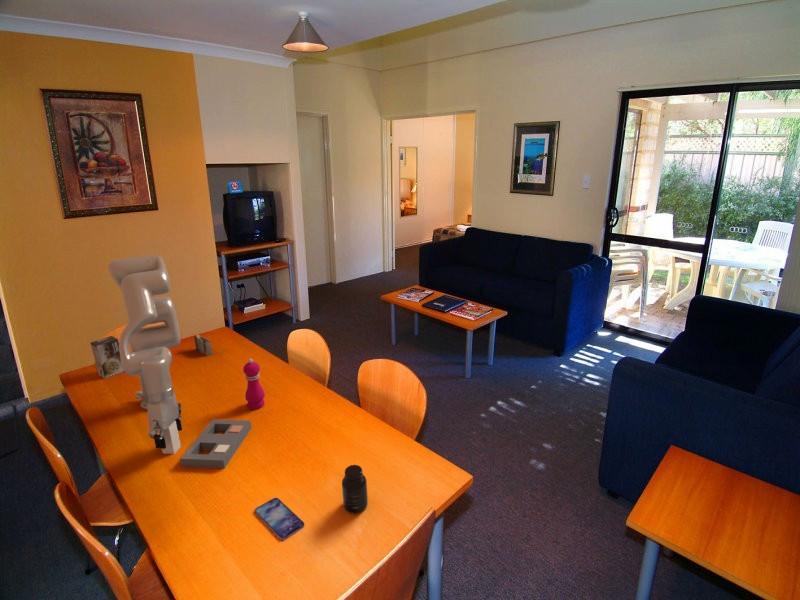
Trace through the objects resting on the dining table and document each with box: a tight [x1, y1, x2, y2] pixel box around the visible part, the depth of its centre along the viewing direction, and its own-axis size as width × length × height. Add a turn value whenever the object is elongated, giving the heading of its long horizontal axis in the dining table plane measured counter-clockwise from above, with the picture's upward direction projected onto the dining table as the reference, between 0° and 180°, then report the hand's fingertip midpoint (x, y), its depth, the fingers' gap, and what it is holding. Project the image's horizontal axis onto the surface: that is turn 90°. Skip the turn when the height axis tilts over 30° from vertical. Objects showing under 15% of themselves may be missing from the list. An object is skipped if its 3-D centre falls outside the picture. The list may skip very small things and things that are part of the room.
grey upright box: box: [192, 332, 213, 357], centre depth 227 cm, size 11×3×10 cm, turn 49°
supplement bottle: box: [341, 464, 369, 514], centre depth 128 cm, size 7×7×12 cm
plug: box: [157, 421, 181, 455], centre depth 153 cm, size 4×4×12 cm
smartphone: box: [254, 497, 306, 541], centre depth 125 cm, size 7×1×15 cm
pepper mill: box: [242, 358, 266, 410], centre depth 177 cm, size 7×7×20 cm
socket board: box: [180, 418, 252, 469], centre depth 156 cm, size 14×22×3 cm, turn 175°
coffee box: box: [90, 335, 124, 379], centre depth 206 cm, size 9×6×16 cm
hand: (169, 438), depth 153 cm, fingers open, 9 cm apart
